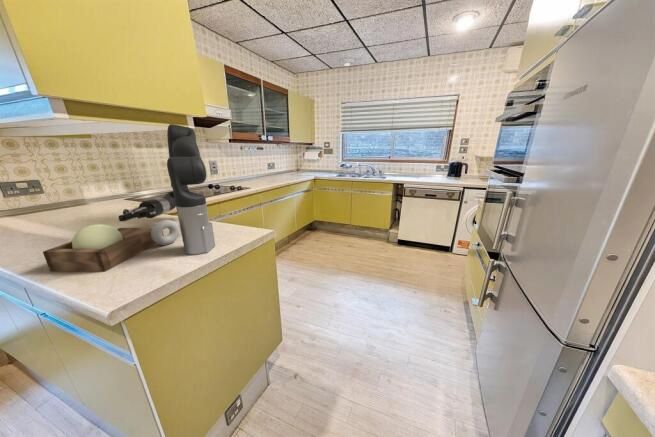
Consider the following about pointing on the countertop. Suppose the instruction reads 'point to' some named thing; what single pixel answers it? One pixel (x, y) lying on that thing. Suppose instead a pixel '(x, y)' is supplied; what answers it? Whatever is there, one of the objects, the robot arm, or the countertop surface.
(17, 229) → the countertop surface
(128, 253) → the wooden serving tray
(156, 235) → the donut
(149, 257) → the countertop surface
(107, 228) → the melon
